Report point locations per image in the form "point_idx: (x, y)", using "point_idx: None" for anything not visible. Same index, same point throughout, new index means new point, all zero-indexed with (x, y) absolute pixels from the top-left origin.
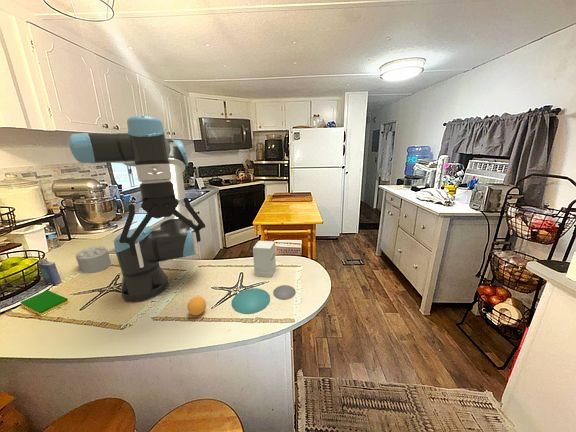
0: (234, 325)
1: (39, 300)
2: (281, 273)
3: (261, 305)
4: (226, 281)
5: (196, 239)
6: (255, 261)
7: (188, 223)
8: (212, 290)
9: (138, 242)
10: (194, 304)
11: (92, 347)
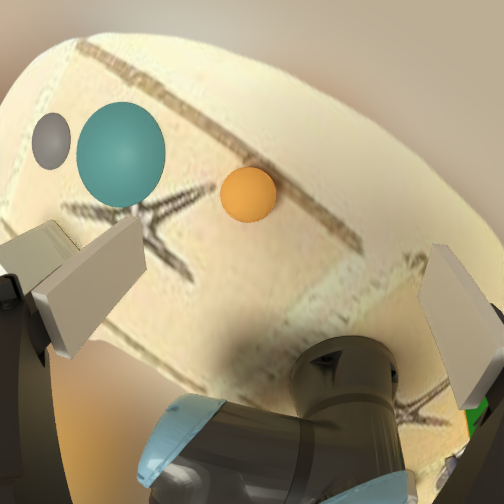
0: (183, 85)
1: None
2: (33, 219)
3: (104, 118)
4: (150, 280)
5: (69, 260)
6: (50, 267)
7: (4, 364)
8: (193, 265)
9: (483, 371)
10: (253, 180)
11: (472, 234)
